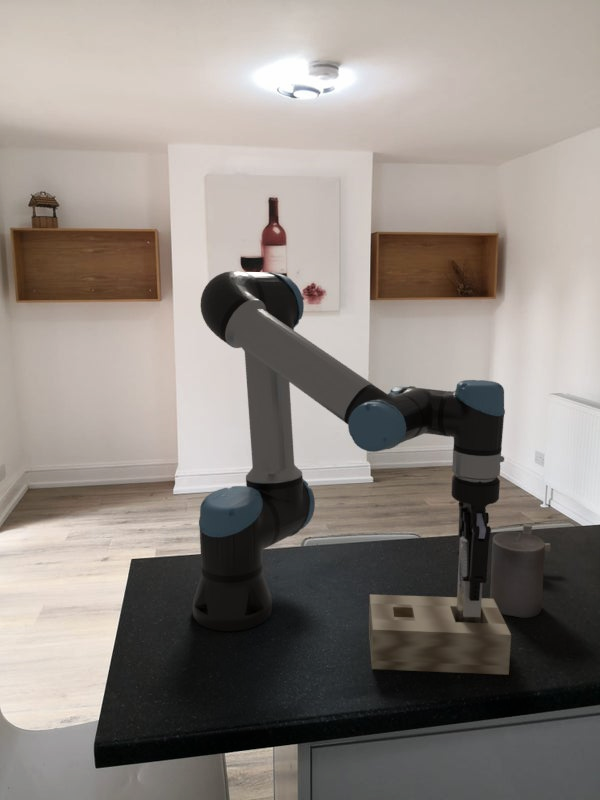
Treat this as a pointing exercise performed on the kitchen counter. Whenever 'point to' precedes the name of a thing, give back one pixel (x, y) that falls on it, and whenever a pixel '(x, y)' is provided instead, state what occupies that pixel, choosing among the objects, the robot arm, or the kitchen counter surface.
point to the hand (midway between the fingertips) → (468, 608)
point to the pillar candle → (517, 573)
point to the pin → (463, 584)
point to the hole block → (436, 636)
